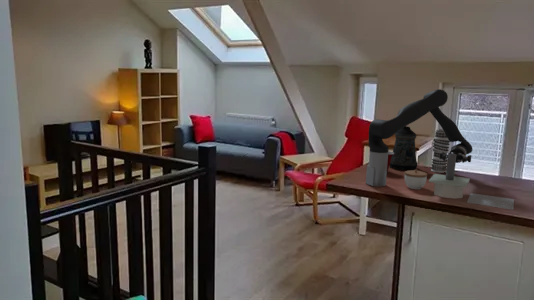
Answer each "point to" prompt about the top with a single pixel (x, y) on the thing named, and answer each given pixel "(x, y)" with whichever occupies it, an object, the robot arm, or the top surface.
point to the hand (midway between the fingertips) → (453, 159)
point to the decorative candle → (439, 151)
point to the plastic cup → (389, 159)
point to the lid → (450, 175)
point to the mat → (491, 201)
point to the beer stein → (404, 150)
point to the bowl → (448, 191)
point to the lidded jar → (415, 179)
